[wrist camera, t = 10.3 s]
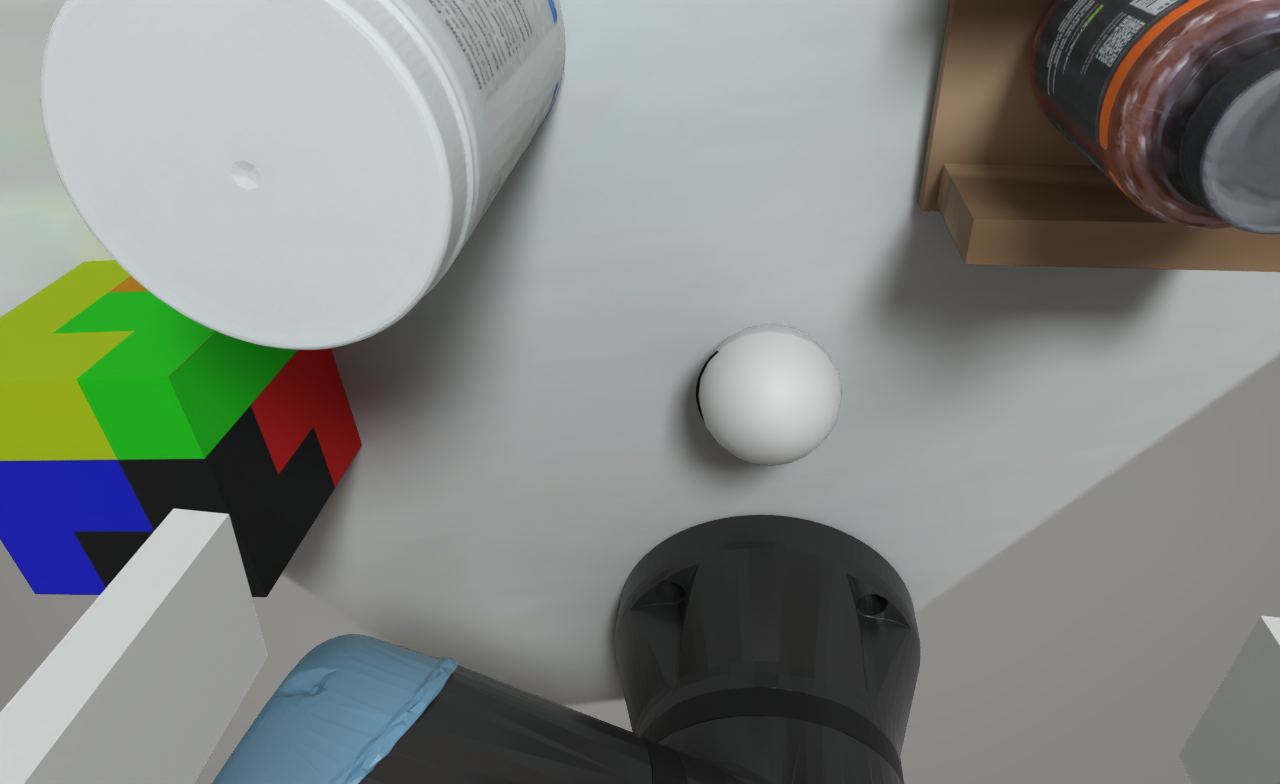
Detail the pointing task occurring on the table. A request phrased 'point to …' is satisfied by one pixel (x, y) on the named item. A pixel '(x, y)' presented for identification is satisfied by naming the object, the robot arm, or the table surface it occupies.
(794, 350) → the white oval egg shape
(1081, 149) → the supplement bottle
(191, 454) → the puzzle toy
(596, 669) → the table surface
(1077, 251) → the holder cradle
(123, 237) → the supplement tub
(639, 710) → the robot arm
